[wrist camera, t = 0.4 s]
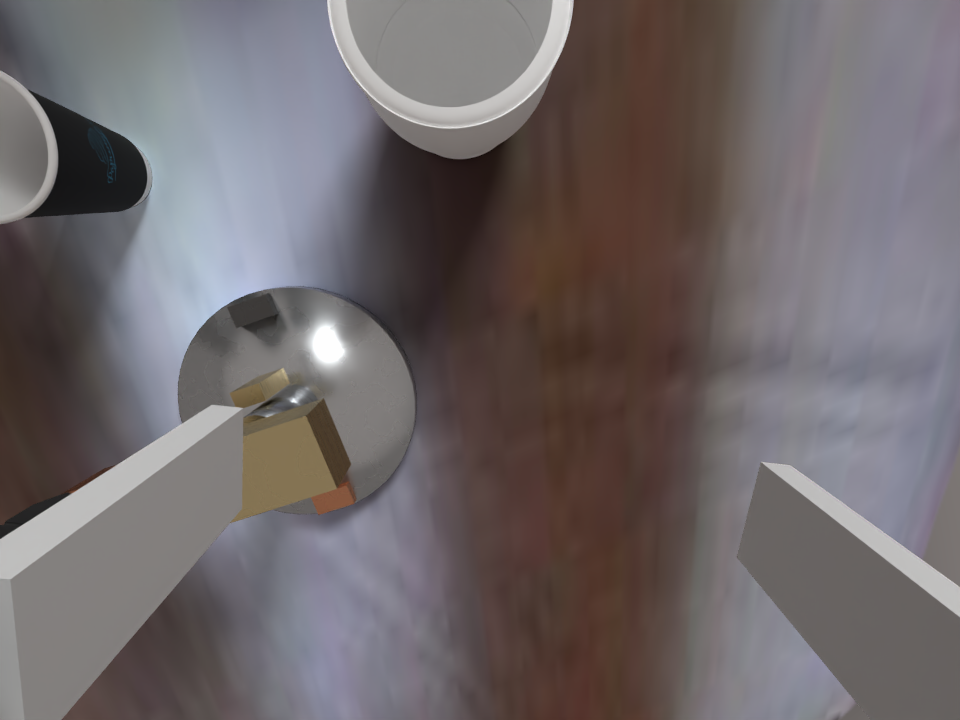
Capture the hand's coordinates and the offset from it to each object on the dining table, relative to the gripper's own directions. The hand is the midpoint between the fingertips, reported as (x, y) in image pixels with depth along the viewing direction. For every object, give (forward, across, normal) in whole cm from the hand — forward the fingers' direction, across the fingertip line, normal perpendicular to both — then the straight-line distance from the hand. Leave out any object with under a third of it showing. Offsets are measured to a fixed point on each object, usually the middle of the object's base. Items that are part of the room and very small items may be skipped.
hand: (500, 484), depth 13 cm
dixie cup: (+28, -27, +8) cm, 40 cm away
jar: (+28, -3, +15) cm, 32 cm away
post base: (+28, -13, -8) cm, 32 cm away
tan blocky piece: (+24, -13, -8) cm, 29 cm away
